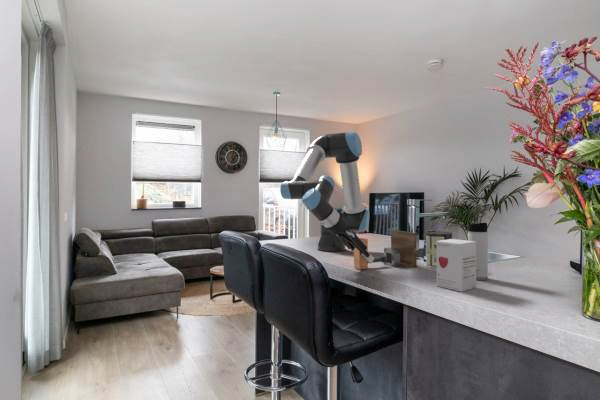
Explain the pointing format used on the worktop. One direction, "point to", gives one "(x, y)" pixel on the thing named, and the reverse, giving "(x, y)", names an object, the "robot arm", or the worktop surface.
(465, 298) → the worktop surface
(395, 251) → the grey thick square slab
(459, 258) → the supplement box
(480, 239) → the travel mug
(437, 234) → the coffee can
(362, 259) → the upright wooden block
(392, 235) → the backboard
